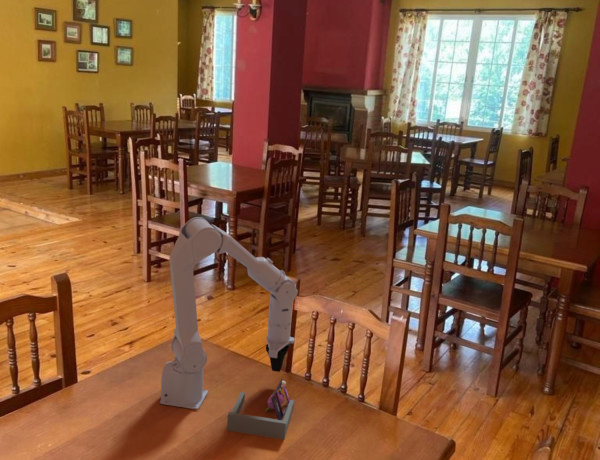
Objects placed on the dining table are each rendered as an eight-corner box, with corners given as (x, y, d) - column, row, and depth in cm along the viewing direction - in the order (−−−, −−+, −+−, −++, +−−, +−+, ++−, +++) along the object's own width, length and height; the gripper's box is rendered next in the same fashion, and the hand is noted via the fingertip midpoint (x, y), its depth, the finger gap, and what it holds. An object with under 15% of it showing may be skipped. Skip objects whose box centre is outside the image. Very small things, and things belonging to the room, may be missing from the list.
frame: (226, 430, 127) (227, 414, 126) (240, 401, 139) (241, 386, 138) (284, 439, 126) (285, 423, 125) (293, 409, 137) (294, 394, 136)
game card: (275, 397, 130) (285, 377, 138) (254, 399, 131) (265, 380, 140) (283, 423, 131) (292, 402, 140) (262, 425, 133) (273, 405, 141)
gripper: (290, 336, 136) (286, 386, 140) (299, 312, 150) (296, 358, 154) (261, 332, 137) (258, 382, 141) (273, 308, 151) (270, 355, 154)
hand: (276, 370), depth 147 cm, fingers closed
